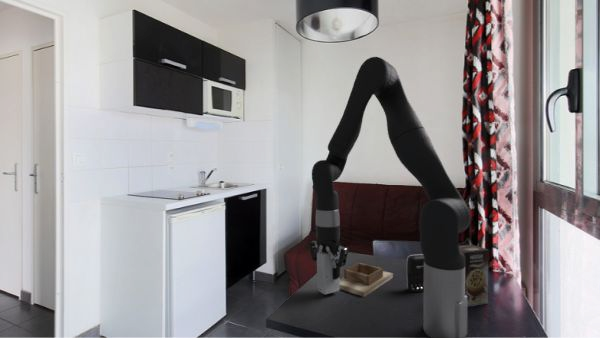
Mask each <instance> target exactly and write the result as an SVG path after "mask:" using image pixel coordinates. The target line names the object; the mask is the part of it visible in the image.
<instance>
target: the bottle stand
mask: <svg viewBox="0 0 600 338" xmlns="http://www.w3.org/2000/svg"><path fill="white" fill-rule="evenodd" d="M393 278H394V273H392V272H389V271H385V270H384V268H382V267H378V266H375V265H370V264H366V263H361V262H357V263H355V264H353V265H351V266H349V267H347V268H345V269H343V276H342V277H339V283H340V290H342V291H345V292H348V293H350V294H354V295H357V296H360V297H363V298H365V297H366V296H368V295H369V294H370V293H372V292H373V291H375V290H376V289H378V288H379V287H381V286H382V285H384V284H386V283H387V282H389V281H391V280H392V279H393Z"/></svg>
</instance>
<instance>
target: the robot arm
mask: <svg viewBox="0 0 600 338" xmlns="http://www.w3.org/2000/svg"><path fill="white" fill-rule="evenodd" d="M405 92H406V91H405V90H404V86H403V84H402V81H401V77H400V75H399V73H398V71H397V69H396V68H395V67H394V66H393V65H392V64H390V63H389V62H388V61H386V60H385V59H384V58H382V57H379V56H371V57H369V58H367V59H366V60H365V61H363V62H362V64H361V65H360V67H359V69H358V71H357V74H356V76H355V79H354V82H353V85H352V89H351V91H350V94H349V97H348V99H347V103H346V106H345V109H344V111H343V113H342V114H343V115H342V116H341V118H340V120H339V123H338V125H337V127H336V129H335V130H334V132H333V134H332V136H331V138H330V140H329V142H328V145H327V150H328V154H327V156H326V159H323V160H322V159H321V160H318V161H316V162H315V163H314V165H313V166H312V170H311V180H312V186H313V189H314V193H315V197H316V199H315V203H316V204H315V209H316V211H315V238H316V240H312V241H310V242H309V243H308V244H309V245H308V247H309V250H310V255H311V260H312V261H313V262H314V261H315V262H316V263H317V253H318V252H319V253H322V252H323V253H327V254H329V258H330V261H332V264H333V267H334V268H333V279H335V280H336V279H338V278H339V279H340V278H341V277H340V276H341V268H342V267H343V266H346V263H347V257H348V254H349V247H347V246H342V245H341V243H340V237H341V223H340V222H341V220H340V217H341V216H340V209H339V208H340V207H339V206H340V205H339V204H340V203H339V198H340V197H339V194H338V191H337V190H335V188H334V182H336V181H337V180H338V179H339V178H340V177H341V175H342V174H343V172H344V169H345V167H346V163H347V161H348V157H349V155H350V153H351V151H352V149H353V148H354V146H355V144H356V143H357V140H358V138H359V136H360V134H361V130H362V125H363V119H364V115H365V111H366V108H367V106H368V104H369V102H370V100H371V99H372V97H373V95H374V97H375V98H376V99H377V101H378V102H379V104H380V106H381V108H382V109H383V113H384V115H385V120H386V127H387V128H386V130H387V135H388V138H389V141H390V144H391V146H392V148H393V150H394V152H395V155H396V157H397V158H398V161H400V163H401V165H403V166H404V169H406V170H407V171H408V172H409V173H410V174H411V175H412V176H413V177H414V179H416V180H417V181H418V182H419V184H420V185H421V186H422V189H423V190H424V192H425V194H426V196H427V198H428V200H429V201H427V202H426V203H425V204H424V205H423V206H422V207H421V210H420V214H419V243H420V244H419V245H420V250H421V252H422V253H421V254H423V256H424V291H423V320H422V322H423V332H424V333H425V335H426V336H428V337H430V338H466V337H467V335H468V307H467V296H466V295H465V255H464V254H463V253H462V252H461V251H459V246H460V245H459V234H461V233H463V232H465V231H466V230H467V229H469V226H470V224H471V218H472V215H471V210H470V208H469V207H468V205H467V203H466V202H465V200H464V198H463V196H462V195H461V193H460V192H459V190H458V189H457V188H456V186H455V184H454V183H453V182H452V180H451V178H450V176H449V175H448V173H447V171H446V169H445V167H444V164H443V162H442V161H441V158H440V157H439V155H438V153H437V150H436V149H435V147H434V144H433V142H432V140H431V138H430V136H429V135H428V133H427V131H426V129H425V126H424V125H423V123H422V121H421V120H420V118H419V116H418V114H417V112H416V111H415V109H414V108H413V106H412V105H411V102H410V101H409V99H408V97H407V95H406V93H405ZM338 253H339V254H338ZM335 254H337V255H336V256H335V257H333V256H334V255H335Z"/></svg>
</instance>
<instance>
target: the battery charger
mask: <svg viewBox="0 0 600 338" xmlns="http://www.w3.org/2000/svg"><path fill="white" fill-rule="evenodd" d="M405 259H406V260H405V278H406V279H405V280H406V282H405V284H406V285H405V287H406V288H405V289H406V290H408V291H409V292H410V293H411V292H412V293H420V292H424V256H423V253H420V254H418V253H417V254H409V255H408V256H406V258H405Z"/></svg>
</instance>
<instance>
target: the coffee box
mask: <svg viewBox="0 0 600 338" xmlns="http://www.w3.org/2000/svg"><path fill="white" fill-rule="evenodd" d="M459 251H461V252H462V253H463V254H464V255H465V295H466V296H467V308H469V307H475V306H479V305H480V306H481V305H486V304H488V301H489V300H488V299H489V296H488V295H489V294H488V293H489V256H490V255H489V253H490V250H489V249H487V248H485V247H481V246H478V245H474V244H465V245H464V244H463V245H459Z"/></svg>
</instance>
